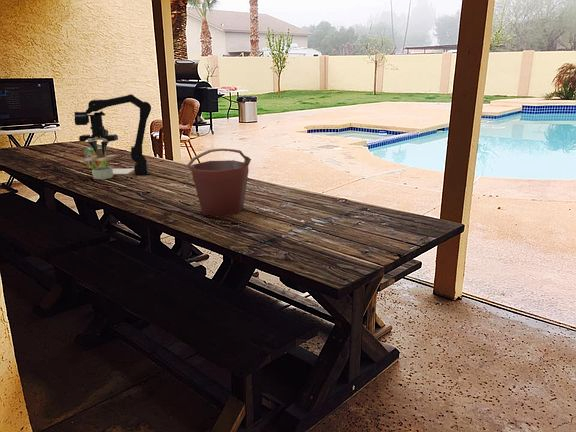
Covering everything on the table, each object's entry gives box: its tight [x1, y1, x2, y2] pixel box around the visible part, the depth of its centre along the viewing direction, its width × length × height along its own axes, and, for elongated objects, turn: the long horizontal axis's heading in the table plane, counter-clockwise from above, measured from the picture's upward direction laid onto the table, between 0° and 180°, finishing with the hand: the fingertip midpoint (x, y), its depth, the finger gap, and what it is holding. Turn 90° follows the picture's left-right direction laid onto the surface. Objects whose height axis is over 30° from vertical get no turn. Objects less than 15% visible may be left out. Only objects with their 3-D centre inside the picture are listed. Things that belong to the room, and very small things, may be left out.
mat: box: [112, 167, 135, 175], centre depth 274 cm, size 15×15×1 cm
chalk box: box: [83, 144, 109, 170], centre depth 286 cm, size 9×9×15 cm
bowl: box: [91, 166, 114, 180], centre depth 259 cm, size 10×10×5 cm
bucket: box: [187, 148, 252, 218], centre depth 191 cm, size 24×22×25 cm
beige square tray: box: [83, 149, 119, 162], centre depth 257 cm, size 13×13×5 cm
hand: (100, 154), depth 257 cm, fingers closed on beige square tray, 3 cm apart
